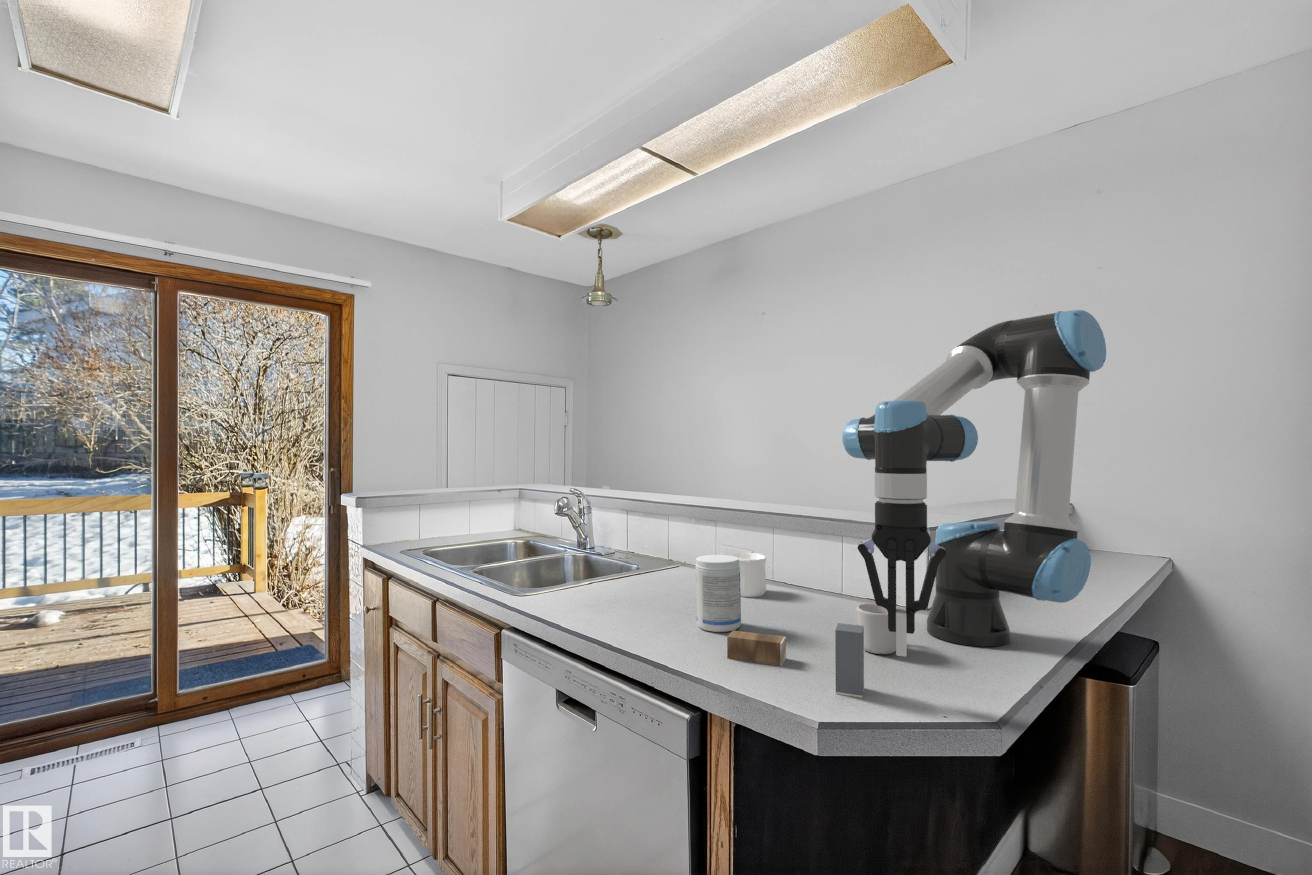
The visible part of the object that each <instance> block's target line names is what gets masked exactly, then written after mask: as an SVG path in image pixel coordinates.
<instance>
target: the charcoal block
mask: <svg viewBox="0 0 1312 875" xmlns="http://www.w3.org/2000/svg"><path fill="white" fill-rule="evenodd" d="M834 632H835V640H834V641H835V644H834V645H835V649H834V650H835V657H834V658H835V663H834V664H835V694H836V695H842V696H850V697H855V698H864V690H865V658H864V657H865V656H864V655H865V649H864V626H861V625H858V624H852V623H851V624H850V623H849V624H848V623H842V622H841V623H840V622H839V623H837V624H836V627H835V631H834Z"/></svg>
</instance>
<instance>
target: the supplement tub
mask: <svg viewBox="0 0 1312 875" xmlns="http://www.w3.org/2000/svg"><path fill="white" fill-rule="evenodd" d="M695 595H696V596H695V600H696V601H695V603H696V604H695V606H696V610H695V612H696V625H697V626H698V628H699V629H701V630H704V631H707V632H708V631H709V632H714V633H726V632H732V631H736V630H737V629H739V628H740V627H741V624H742V612H741V610H742V605H741V604H742V603H741V598H742V597H741V592H740V564H739V558H737V557H735V556H732V555H728V554H707V555H701V556H698V557H696V559H695Z"/></svg>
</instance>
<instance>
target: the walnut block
mask: <svg viewBox="0 0 1312 875" xmlns="http://www.w3.org/2000/svg"><path fill="white" fill-rule="evenodd" d="M726 638H727V640H726V642H727V643H726V646H727V647H726V648H727V651H726V652H727V656H726V657H727V659H728V660H736V661H743V662H745V661H746V662H751V663H759V664H766V665H771V666H772V665H774V666H780V667H782V666H784V665H783V664H785V662H786V660H787V636H784V635H776V634H775V635H773V634H765V633H759V632H757V633H756V632H748V631H741V630H733V631H730V633H729V634H728V635H727V637H726Z"/></svg>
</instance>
